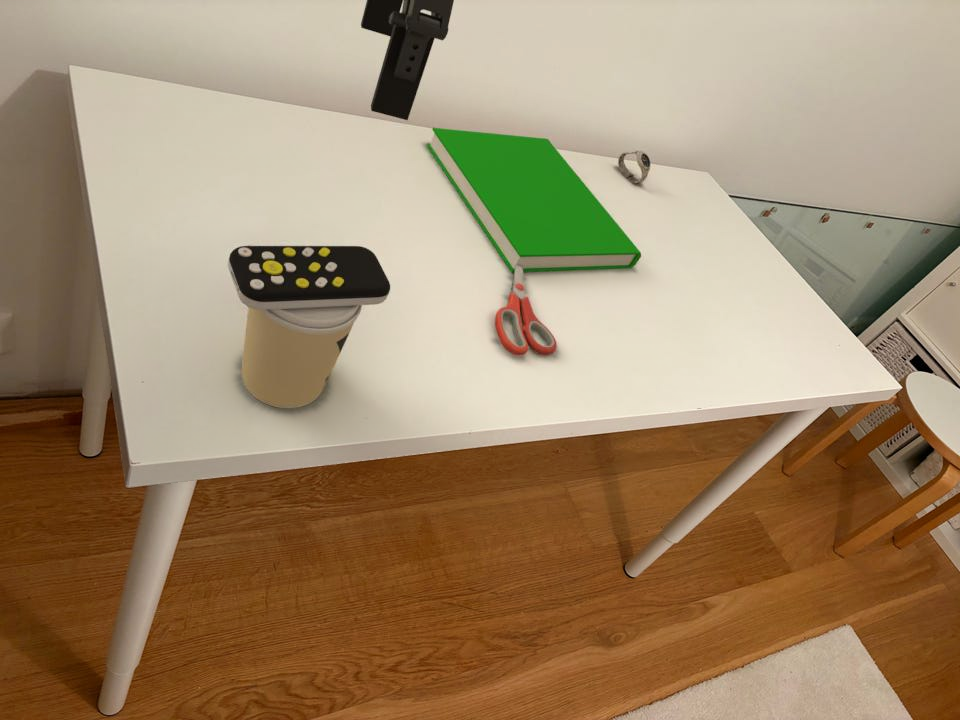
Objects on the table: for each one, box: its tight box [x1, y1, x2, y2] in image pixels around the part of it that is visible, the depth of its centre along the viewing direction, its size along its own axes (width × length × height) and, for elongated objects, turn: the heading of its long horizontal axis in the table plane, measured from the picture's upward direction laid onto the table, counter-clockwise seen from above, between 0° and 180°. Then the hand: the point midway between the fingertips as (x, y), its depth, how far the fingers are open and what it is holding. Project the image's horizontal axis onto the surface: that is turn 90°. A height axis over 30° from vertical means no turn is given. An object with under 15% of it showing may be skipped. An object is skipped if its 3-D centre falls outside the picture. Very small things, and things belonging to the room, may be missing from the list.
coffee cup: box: [241, 305, 363, 409], centre depth 64 cm, size 9×9×12 cm
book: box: [426, 127, 642, 273], centre depth 107 cm, size 22×28×3 cm
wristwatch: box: [617, 150, 652, 184], centre depth 126 cm, size 4×6×5 cm, turn 42°
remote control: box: [227, 245, 391, 310], centre depth 60 cm, size 6×13×2 cm, turn 117°
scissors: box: [494, 265, 557, 356], centre depth 90 cm, size 8×21×2 cm, turn 11°
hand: (382, 69), depth 57 cm, fingers open, 13 cm apart
